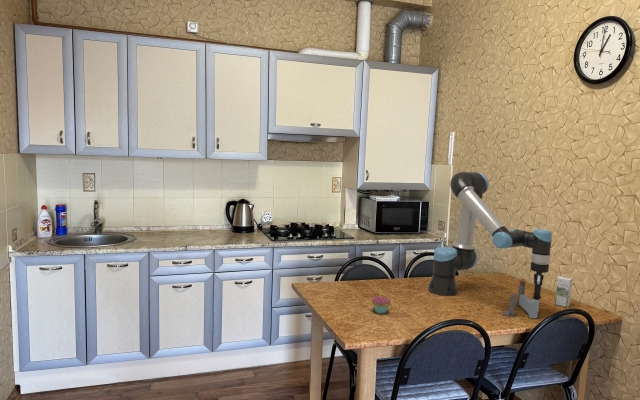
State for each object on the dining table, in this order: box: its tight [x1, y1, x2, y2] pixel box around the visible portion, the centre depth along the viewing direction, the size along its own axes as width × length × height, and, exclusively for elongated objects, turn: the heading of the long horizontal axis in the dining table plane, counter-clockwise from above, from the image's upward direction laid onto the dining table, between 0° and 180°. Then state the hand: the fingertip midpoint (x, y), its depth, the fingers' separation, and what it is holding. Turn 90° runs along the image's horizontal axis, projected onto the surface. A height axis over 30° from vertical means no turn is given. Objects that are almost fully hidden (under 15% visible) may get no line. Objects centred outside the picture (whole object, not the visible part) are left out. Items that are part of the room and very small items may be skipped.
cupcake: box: [371, 287, 391, 314], centre depth 195 cm, size 9×8×12 cm
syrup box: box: [554, 275, 573, 308], centre depth 216 cm, size 6×6×14 cm
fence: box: [519, 279, 526, 288], centre depth 222 cm, size 3×13×9 cm, turn 153°
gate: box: [516, 285, 540, 319], centre depth 205 cm, size 20×3×9 cm, turn 172°
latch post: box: [501, 292, 516, 318], centre depth 199 cm, size 5×5×10 cm
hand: (535, 311), depth 201 cm, fingers closed
